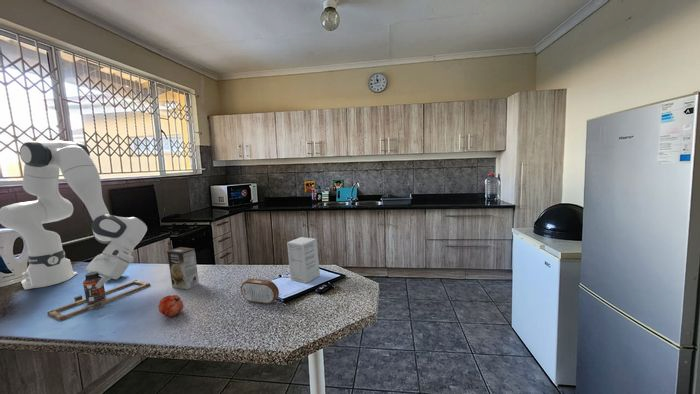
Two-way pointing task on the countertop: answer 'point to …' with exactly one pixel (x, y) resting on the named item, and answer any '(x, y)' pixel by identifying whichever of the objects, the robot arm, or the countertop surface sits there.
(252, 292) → the tin
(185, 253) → the coffee box
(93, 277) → the supplement bottle
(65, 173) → the robot arm
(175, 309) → the red round fruit
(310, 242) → the supplement box
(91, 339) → the countertop surface
